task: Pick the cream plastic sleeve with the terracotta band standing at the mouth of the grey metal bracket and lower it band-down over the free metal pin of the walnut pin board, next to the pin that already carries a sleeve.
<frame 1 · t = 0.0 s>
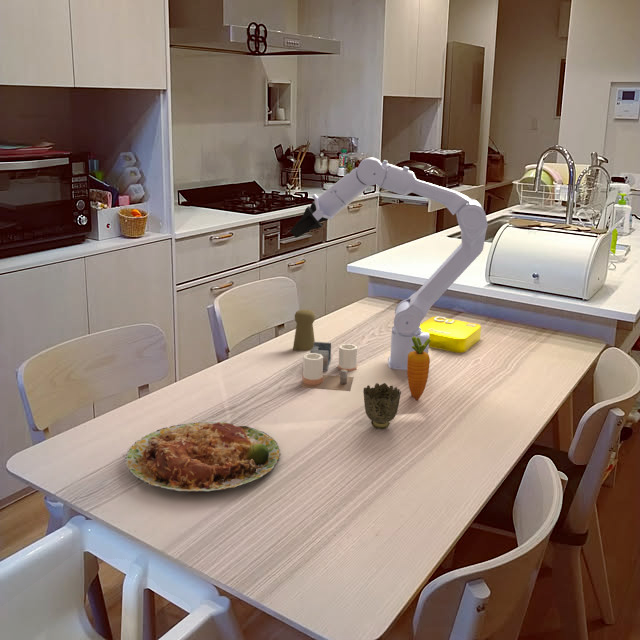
hand: (295, 231, 169), 32 cm above the table, tool tilted 50°, fingers open, 7 cm apart
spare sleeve: (312, 380, 162), point 1 cm above the table, touching pin board
element tile: (446, 342, 194), on the table
sleeve: (347, 370, 171), resting on grey metal bracket
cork: (304, 351, 184), on the table
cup: (380, 427, 143), on the table
carrot: (415, 401, 156), on the table
grey metal bracket: (347, 371, 171), on the table
rice dish: (204, 462, 129), on the table
pin board: (327, 386, 162), on the table
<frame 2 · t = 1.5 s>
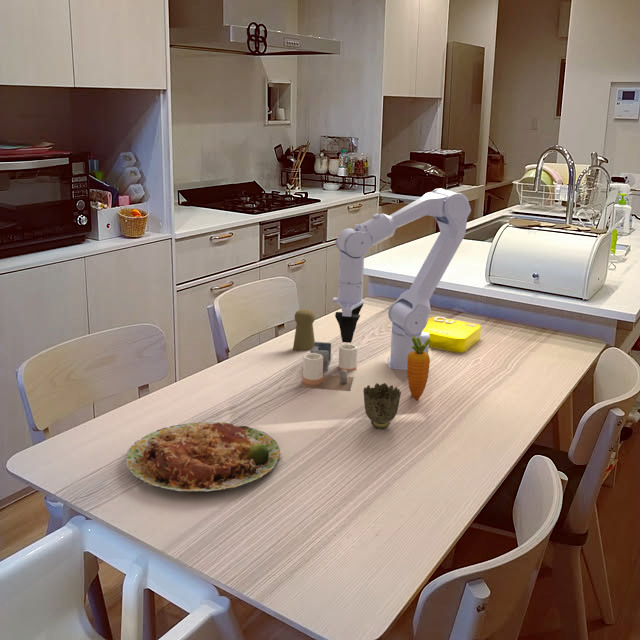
hand: (348, 336, 168), 9 cm above the table, tool pointing down, fingers open, 7 cm apart
nothing on the table moved.
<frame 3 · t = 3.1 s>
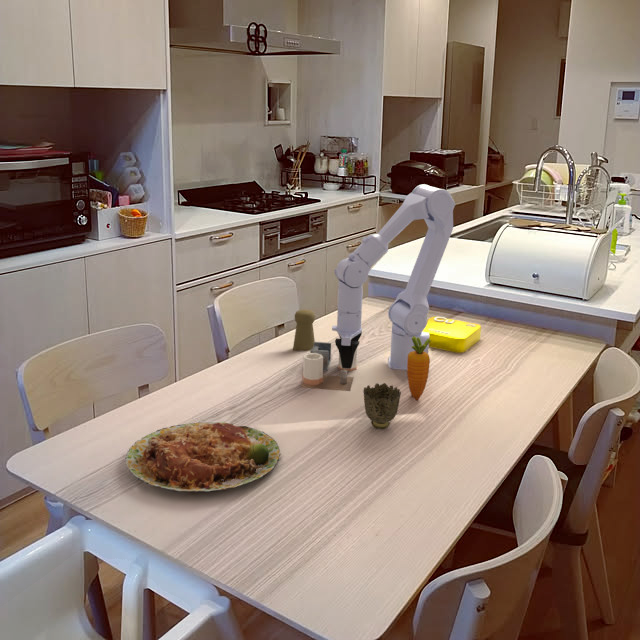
hand: (347, 364, 170), 2 cm above the table, tool pointing down, fingers closed on sleeve, 4 cm apart
sleeve: (347, 370, 171), resting on grey metal bracket, touching gripper
everything else where it was.
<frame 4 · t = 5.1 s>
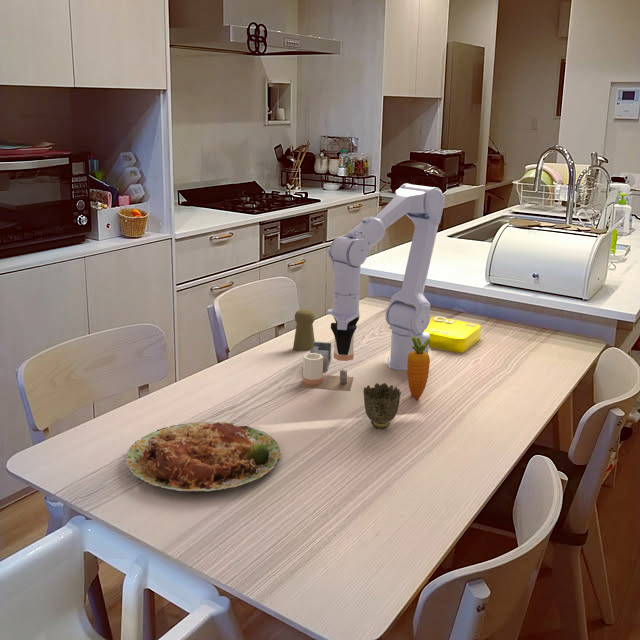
hand: (344, 350, 159), 9 cm above the table, tool pointing down, fingers closed on sleeve, 4 cm apart
sleeve: (343, 357, 159), point 8 cm above the table, touching gripper
everything else where it was.
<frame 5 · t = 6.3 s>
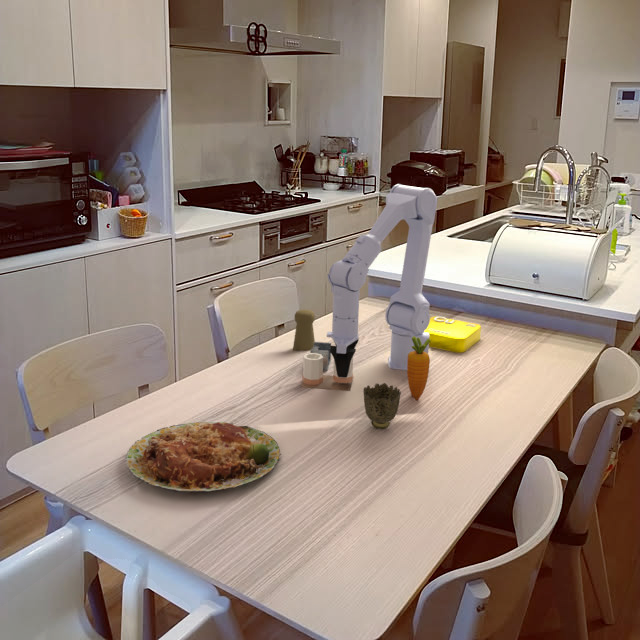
hand: (343, 372, 160), 4 cm above the table, tool pointing down, fingers closed on sleeve, 4 cm apart
sleeve: (343, 379, 161), point 2 cm above the table, touching gripper
everything else where it was.
when the fingers open (4 cm above the table, at t = 7.1 s): sleeve stays where it is, resting on pin board.
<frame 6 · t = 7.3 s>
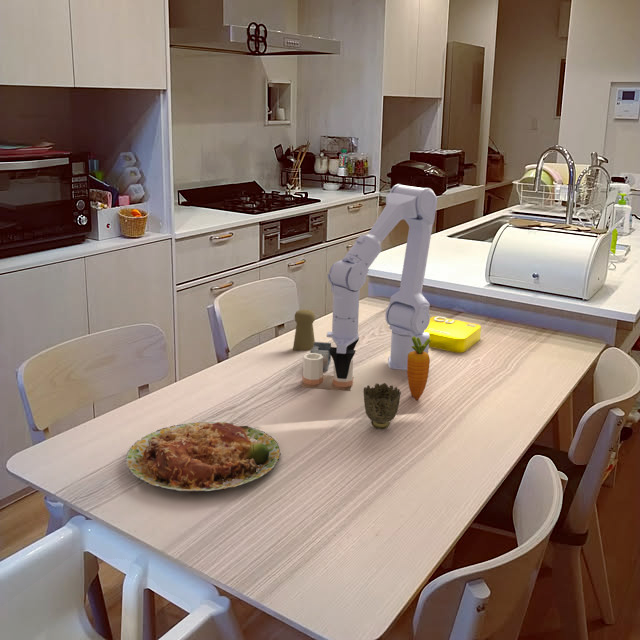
hand: (343, 372, 160), 4 cm above the table, tool pointing down, fingers open, 6 cm apart
sleeve: (342, 383, 161), point 1 cm above the table, touching pin board
everything else where it was.
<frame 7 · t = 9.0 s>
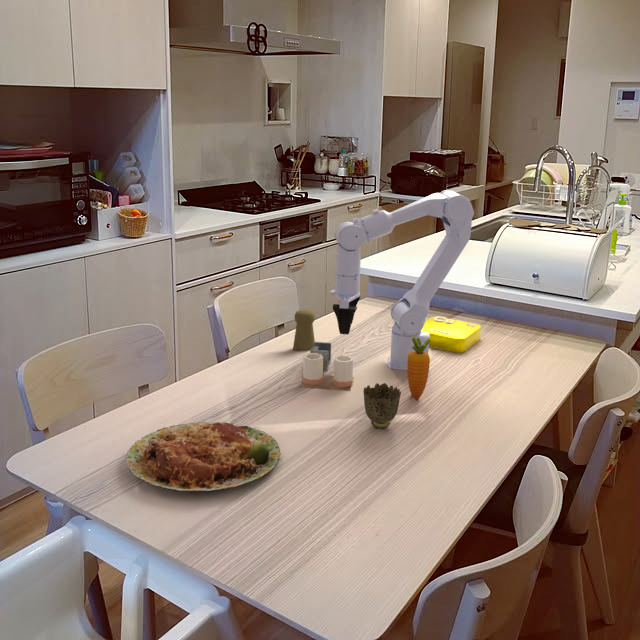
hand: (346, 328, 171), 10 cm above the table, tool pointing down, fingers open, 7 cm apart
nothing on the table moved.
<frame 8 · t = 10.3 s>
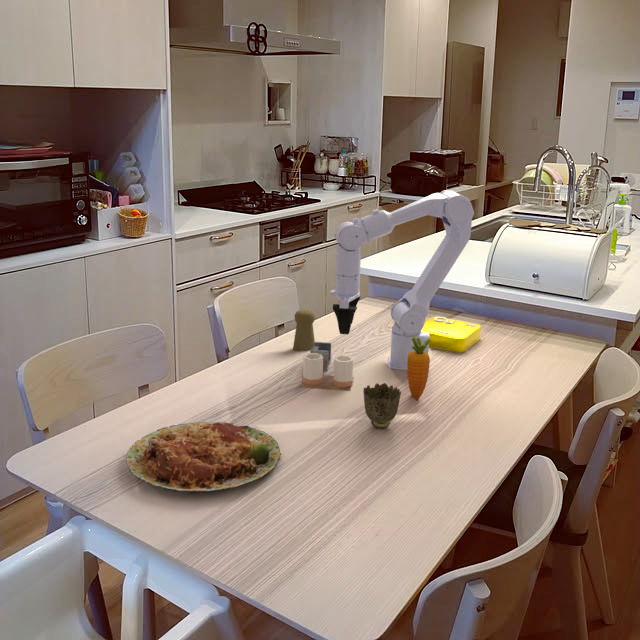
hand: (346, 328, 171), 10 cm above the table, tool pointing down, fingers open, 7 cm apart
nothing on the table moved.
at the end: sleeve 0.1 cm from the target spot on the pin board, point 1.2 cm above the pin board's base; sleeve tilted 0°; the gripper is holding nothing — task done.
